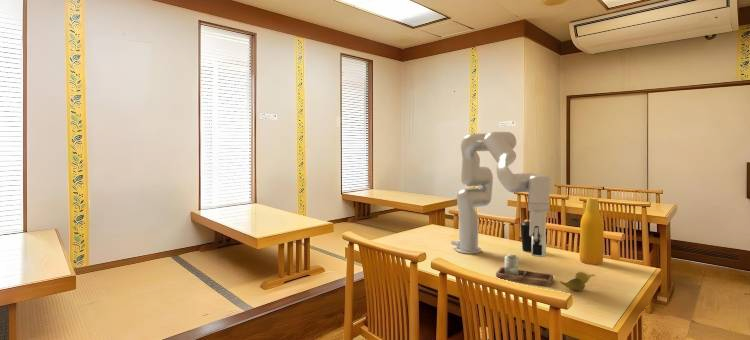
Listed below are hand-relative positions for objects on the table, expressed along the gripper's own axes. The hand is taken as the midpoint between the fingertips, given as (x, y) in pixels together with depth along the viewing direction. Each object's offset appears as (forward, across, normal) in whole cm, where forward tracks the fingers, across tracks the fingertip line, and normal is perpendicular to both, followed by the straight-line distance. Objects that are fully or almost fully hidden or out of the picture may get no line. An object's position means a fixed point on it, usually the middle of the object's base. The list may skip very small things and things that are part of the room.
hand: (538, 252), depth 151 cm
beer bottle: (+12, -37, +17) cm, 42 cm away
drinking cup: (+11, -43, -11) cm, 46 cm away
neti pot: (+12, +3, +14) cm, 18 cm away
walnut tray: (+11, 0, -5) cm, 13 cm away
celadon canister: (+1, 0, 0) cm, 1 cm away
